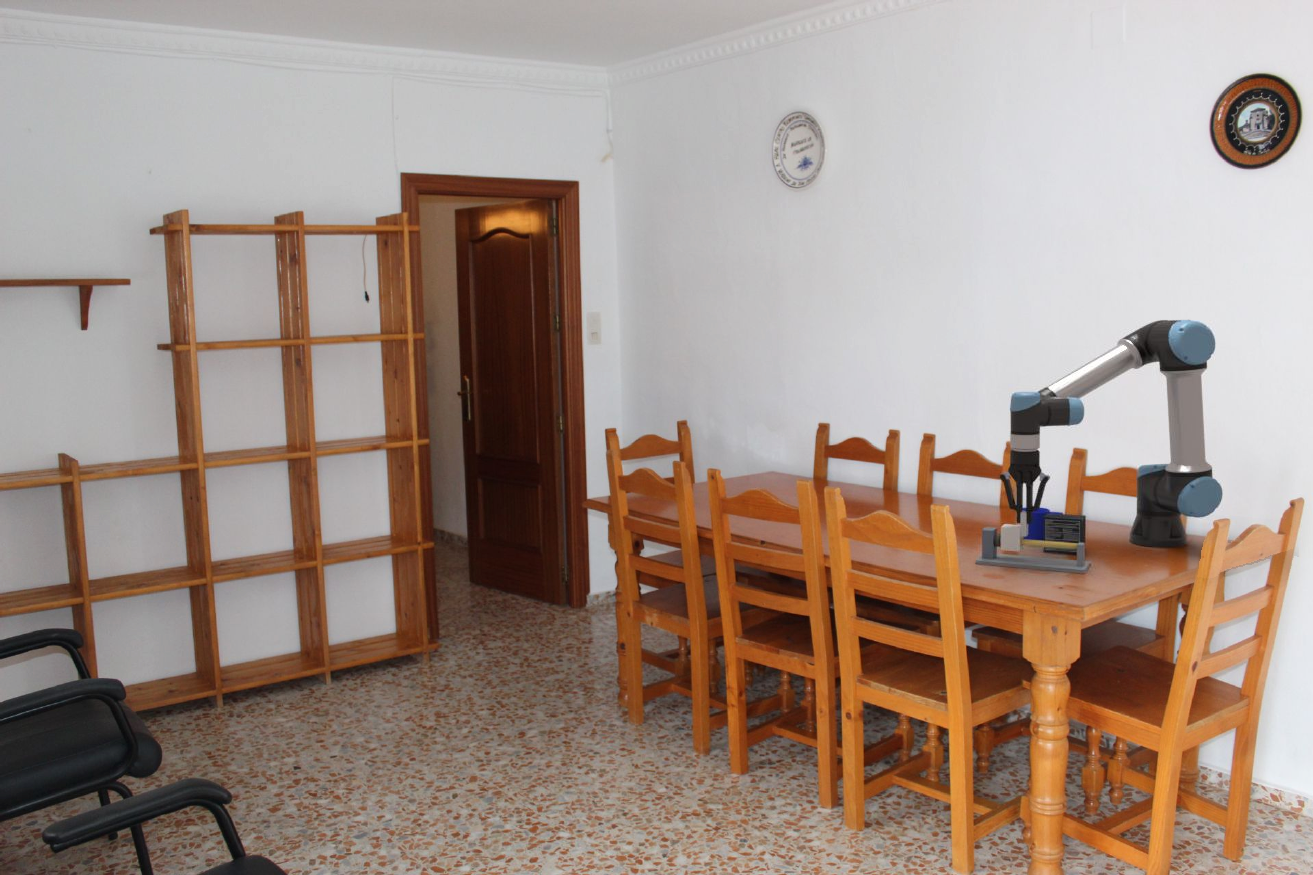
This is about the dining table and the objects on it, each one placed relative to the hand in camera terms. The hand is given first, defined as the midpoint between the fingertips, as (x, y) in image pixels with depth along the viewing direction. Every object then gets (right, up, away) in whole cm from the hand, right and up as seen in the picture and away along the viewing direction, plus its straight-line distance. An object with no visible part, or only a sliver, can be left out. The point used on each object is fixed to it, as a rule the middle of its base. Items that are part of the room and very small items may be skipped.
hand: (1024, 535), depth 286 cm
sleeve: (-3, -4, +2) cm, 5 cm away
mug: (+14, -5, +25) cm, 29 cm away
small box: (+16, -6, +13) cm, 22 cm away
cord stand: (+2, -8, 0) cm, 8 cm away
